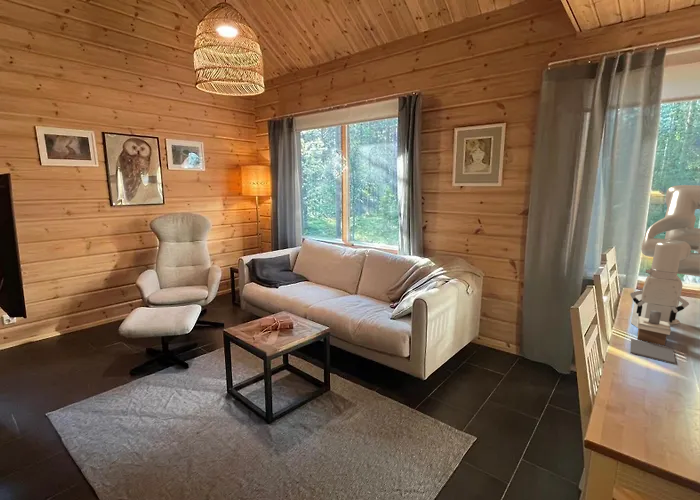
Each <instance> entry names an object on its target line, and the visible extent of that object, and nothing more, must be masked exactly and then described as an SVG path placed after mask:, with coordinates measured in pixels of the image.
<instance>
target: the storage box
mask: <svg viewBox="0 0 700 500" xmlns="http://www.w3.org/2000/svg"><path fill="white" fill-rule="evenodd" d="M667 337H668V335H667V334H663V333H658V332H653V331H649V330H644V329H639V328H637V340H639V341H641V340H642V341H643V342H645V341H647V342H648V343H650V342H651V343H652V344H657V345H659V344H660V345H661V346H663V345H664V346H666V340H667Z"/></svg>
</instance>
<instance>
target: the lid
mask: <svg viewBox="0 0 700 500" xmlns="http://www.w3.org/2000/svg"><path fill="white" fill-rule="evenodd" d="M660 318H661V312H658V311H653V310H652V311H650V316H649V318H644V317H639V316H638V321H637V327H636V328H637V329H638V328H639V329H644V330H649V331H653V332H658V333H663V334H667V336H670V335H671V331H672V329H671V326H670V324H669V322H665V321H660Z"/></svg>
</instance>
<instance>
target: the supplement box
mask: <svg viewBox="0 0 700 500" xmlns="http://www.w3.org/2000/svg"><path fill="white" fill-rule="evenodd" d="M636 291H639V290H636ZM641 296H642V294H640V295H636V298H637V299H638V300H639V301H640V300H641ZM633 302H634V301H633ZM637 307H638V305H637V304H636V303H635V302H634V303H633V308H632V314H631V321H630V324H631V325H633V326H635V328H637V321H638V313H636V312H637ZM652 310H653V311H658V312H661V318H660V321H665V322H669V317H670V312H671V307H667V306H661V305H655V304H650V303H644V304H643V305H642V312H641V316H639V317H644V318H649V316H650V311H652Z"/></svg>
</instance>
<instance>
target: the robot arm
mask: <svg viewBox="0 0 700 500" xmlns="http://www.w3.org/2000/svg"><path fill="white" fill-rule="evenodd" d="M665 203H666V207H667V208H666V212H665V215H664V217H663V218H661V219H659V220H657V221H656V222H654V223H653V224H651V225H650V226H649V227H648V228H647V229H646V232H645V234H644V236H643V240H642V243H641V247H640V249H641V253H642V254H643V256H646V257H650V258H652V260H651V261H652V263H651V267H650V268H649V269H645V274H648V275H647V277H646V279H645V280H644V283H643V287H642V289H640V290H638V291H637V290H636V291H632V292H630V293H629V296H630V298H631V299H632V301H633V302H635V303H636V304H637V305H638V307H637V312H636V313H638V316H641V312H642V305H643V304H644V303H650V304H655V305H661V306H667V307H671V312H670V317H669V324H670V327H674V326H675V327H676V326H680V323H681V322H680V320H679V319H677V315H678V312H681V311H682V310H684V309H686V308H687V307H688V306H689V305H690V302H689V301H687V300H686V299H684V298H682V297H681V295H682V290H683V285H684V284H683V281H682V279H680V277H679V276H678V275H686V276H693V277H700V228H699V227H695V225H696V224H695V223H696V221H697V220H696V219H697V218H696V215H695V213H696V210H700V185H693V184H691V185H689V184H682V185H673V186H671V187H669V188H668V189H667V190H666V195H665ZM662 233H665V236H664V238H657V237H656V236H658V235H659V234H662ZM692 251H694V252H692ZM640 294H642V296H641V300H640V301H639V300H638V299H637V298H636V295H640ZM680 303H681V305H679V304H680Z"/></svg>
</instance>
